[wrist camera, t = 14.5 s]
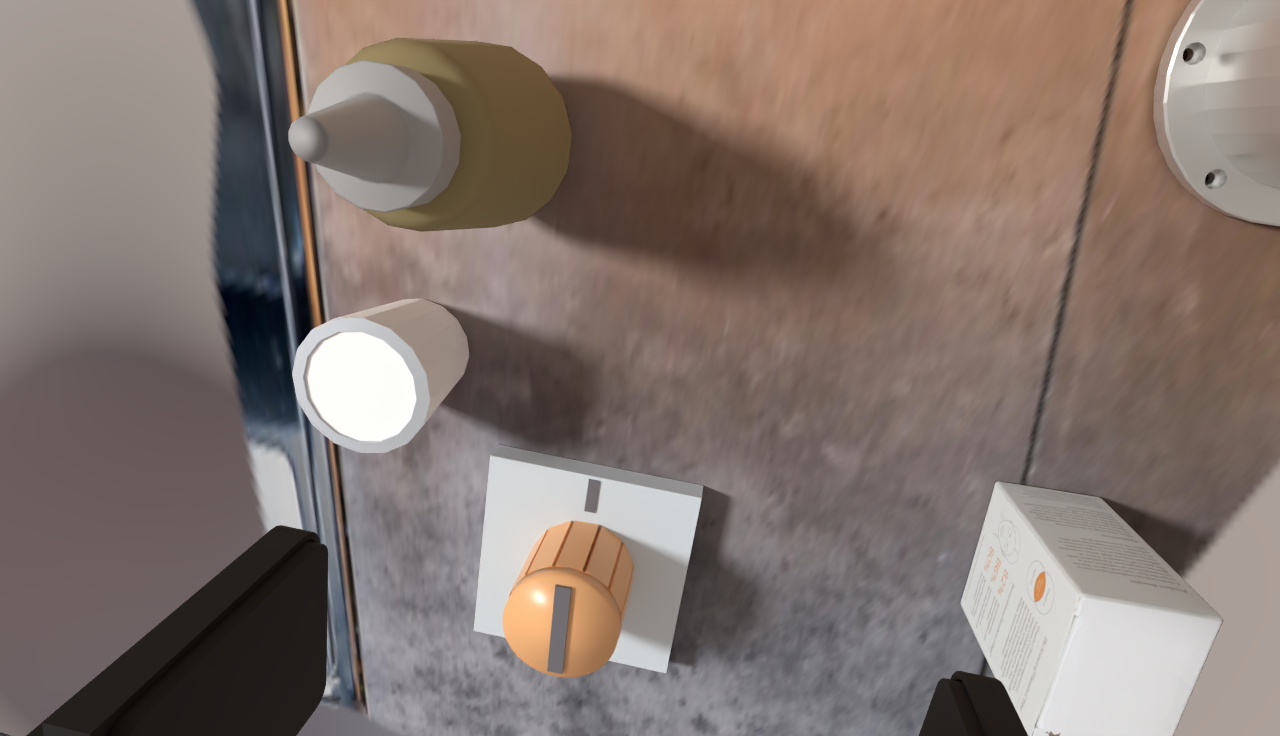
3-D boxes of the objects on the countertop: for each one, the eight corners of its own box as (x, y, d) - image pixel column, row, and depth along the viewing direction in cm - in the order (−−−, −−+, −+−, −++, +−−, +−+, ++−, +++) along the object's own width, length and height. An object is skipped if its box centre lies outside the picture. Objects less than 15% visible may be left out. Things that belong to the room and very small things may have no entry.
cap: (627, 619, 43) (610, 689, 37) (528, 601, 43) (498, 668, 38) (638, 531, 41) (623, 591, 35) (535, 513, 41) (504, 570, 36)
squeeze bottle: (614, 178, 36) (505, 216, 19) (479, 243, 38) (271, 329, 21) (543, 19, 35) (353, -93, 18) (404, 96, 36) (112, 61, 20)
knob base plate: (703, 485, 41) (697, 536, 36) (668, 656, 45) (658, 724, 40) (498, 444, 42) (464, 488, 37) (482, 615, 46) (448, 676, 40)
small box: (1057, 619, 41) (1160, 777, 31) (956, 602, 41) (1025, 751, 31) (1103, 493, 38) (1231, 620, 28) (994, 476, 39) (1082, 595, 29)
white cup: (495, 392, 41) (448, 441, 34) (386, 414, 42) (321, 465, 36) (458, 274, 39) (400, 303, 32) (346, 301, 40) (269, 333, 34)
